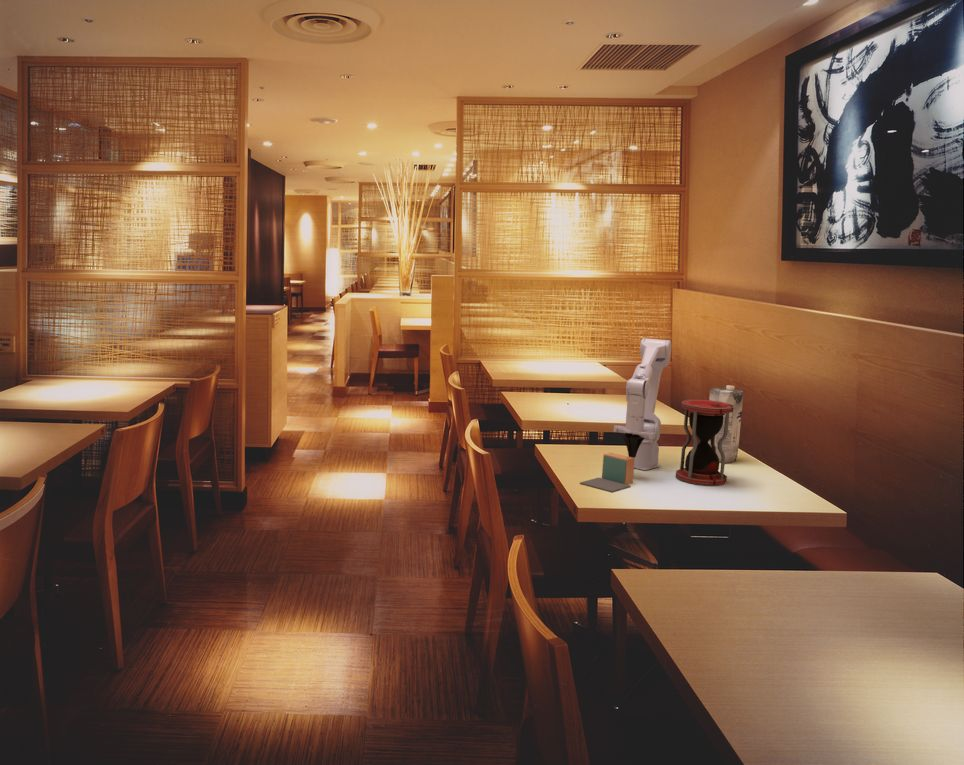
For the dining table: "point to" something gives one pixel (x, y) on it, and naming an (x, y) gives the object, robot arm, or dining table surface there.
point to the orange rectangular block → (618, 468)
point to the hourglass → (704, 442)
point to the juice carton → (734, 424)
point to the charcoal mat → (605, 484)
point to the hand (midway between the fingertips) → (632, 457)
